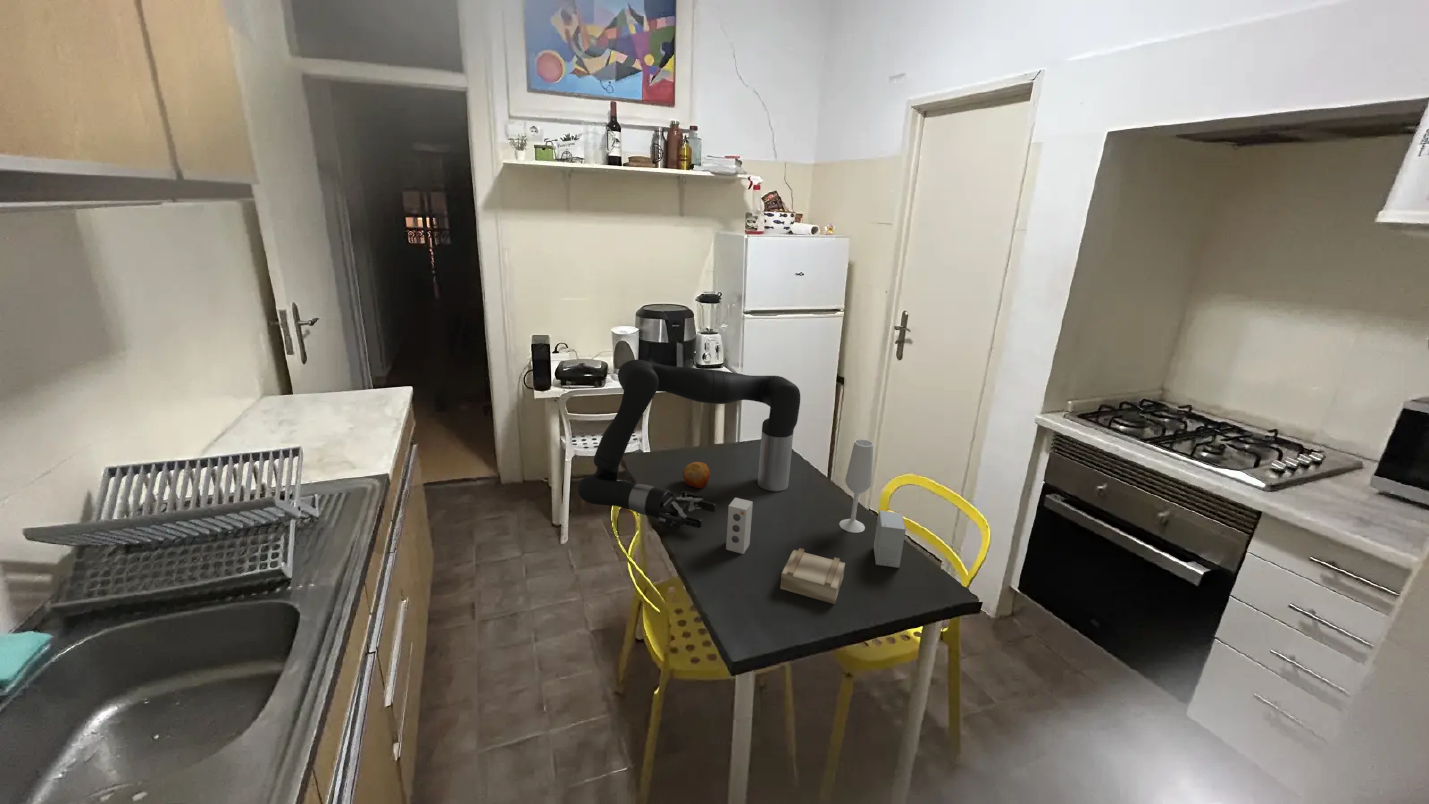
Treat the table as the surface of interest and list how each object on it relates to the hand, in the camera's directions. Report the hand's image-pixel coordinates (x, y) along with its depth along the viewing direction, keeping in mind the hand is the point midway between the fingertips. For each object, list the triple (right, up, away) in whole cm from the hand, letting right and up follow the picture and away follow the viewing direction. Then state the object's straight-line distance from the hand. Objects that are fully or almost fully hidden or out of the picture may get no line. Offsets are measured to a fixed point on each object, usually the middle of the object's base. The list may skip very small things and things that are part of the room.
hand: (708, 515), depth 140 cm
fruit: (-4, +3, +29) cm, 30 cm away
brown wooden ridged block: (+23, -12, -13) cm, 30 cm away
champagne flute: (+38, -5, +11) cm, 40 cm away
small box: (+43, -10, -2) cm, 44 cm away
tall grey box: (+7, -7, -1) cm, 10 cm away
